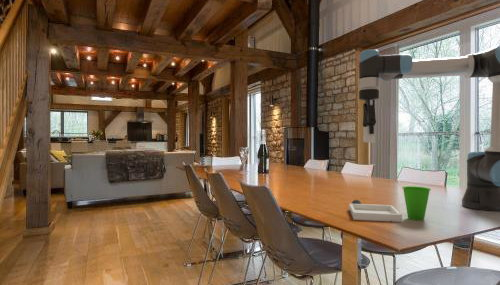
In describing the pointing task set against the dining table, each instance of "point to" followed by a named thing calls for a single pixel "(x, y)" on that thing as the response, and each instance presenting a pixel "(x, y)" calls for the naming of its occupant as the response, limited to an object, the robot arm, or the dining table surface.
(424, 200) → the cup
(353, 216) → the tray
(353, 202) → the ball
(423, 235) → the dining table surface
